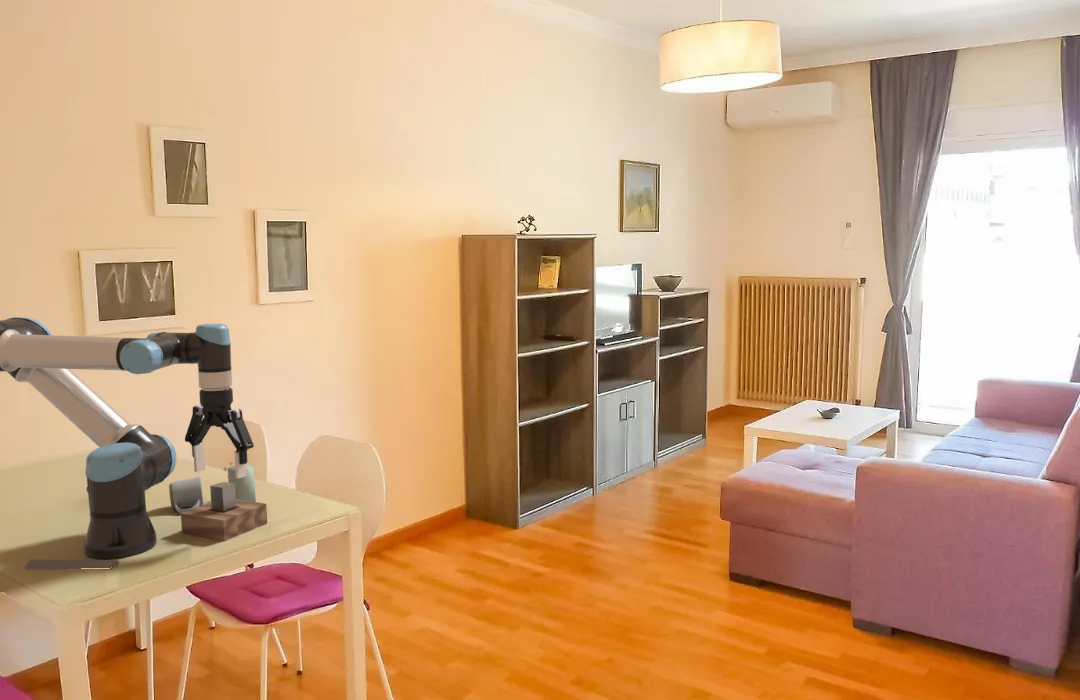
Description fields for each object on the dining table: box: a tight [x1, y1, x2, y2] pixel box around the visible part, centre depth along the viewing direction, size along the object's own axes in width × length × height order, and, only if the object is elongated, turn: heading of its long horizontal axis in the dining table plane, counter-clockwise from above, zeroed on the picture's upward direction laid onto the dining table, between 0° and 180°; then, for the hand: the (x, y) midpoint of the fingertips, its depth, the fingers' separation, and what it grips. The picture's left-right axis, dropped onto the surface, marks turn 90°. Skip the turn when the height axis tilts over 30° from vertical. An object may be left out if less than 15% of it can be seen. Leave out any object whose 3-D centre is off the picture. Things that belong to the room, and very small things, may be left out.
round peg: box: [227, 464, 257, 502], centre depth 229 cm, size 6×6×11 cm
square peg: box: [209, 481, 236, 513], centre depth 213 cm, size 4×4×11 cm
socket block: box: [180, 499, 268, 542], centre depth 213 cm, size 14×14×5 cm
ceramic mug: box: [168, 476, 205, 514], centre depth 230 cm, size 11×8×8 cm
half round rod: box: [25, 559, 120, 570], centre depth 190 cm, size 4×20×2 cm, turn 86°
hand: (220, 473), depth 212 cm, fingers open, 13 cm apart
